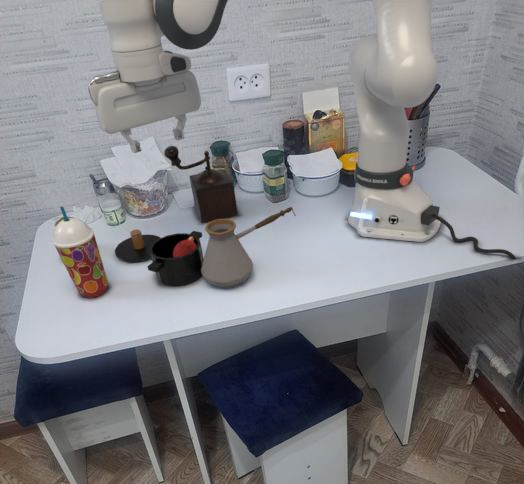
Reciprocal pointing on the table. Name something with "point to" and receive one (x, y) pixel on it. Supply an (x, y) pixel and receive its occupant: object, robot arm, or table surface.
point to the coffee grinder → (208, 189)
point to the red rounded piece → (184, 247)
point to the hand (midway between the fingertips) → (158, 145)
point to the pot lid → (136, 247)
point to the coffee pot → (229, 252)
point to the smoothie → (80, 256)
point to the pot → (176, 260)
